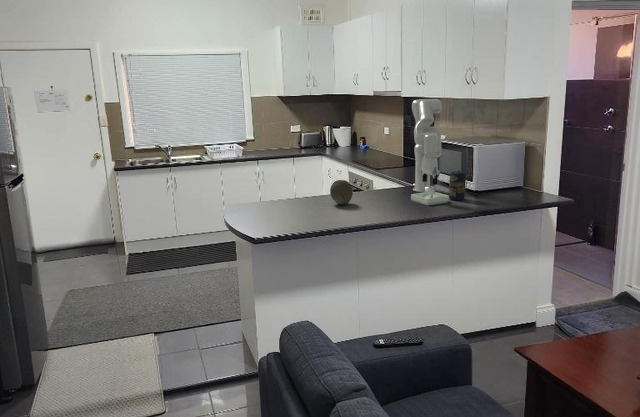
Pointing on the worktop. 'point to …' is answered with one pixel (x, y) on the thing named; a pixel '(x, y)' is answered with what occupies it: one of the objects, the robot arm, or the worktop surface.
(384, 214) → the worktop surface
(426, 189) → the metal cylinder
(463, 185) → the canister
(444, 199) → the tray
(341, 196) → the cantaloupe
